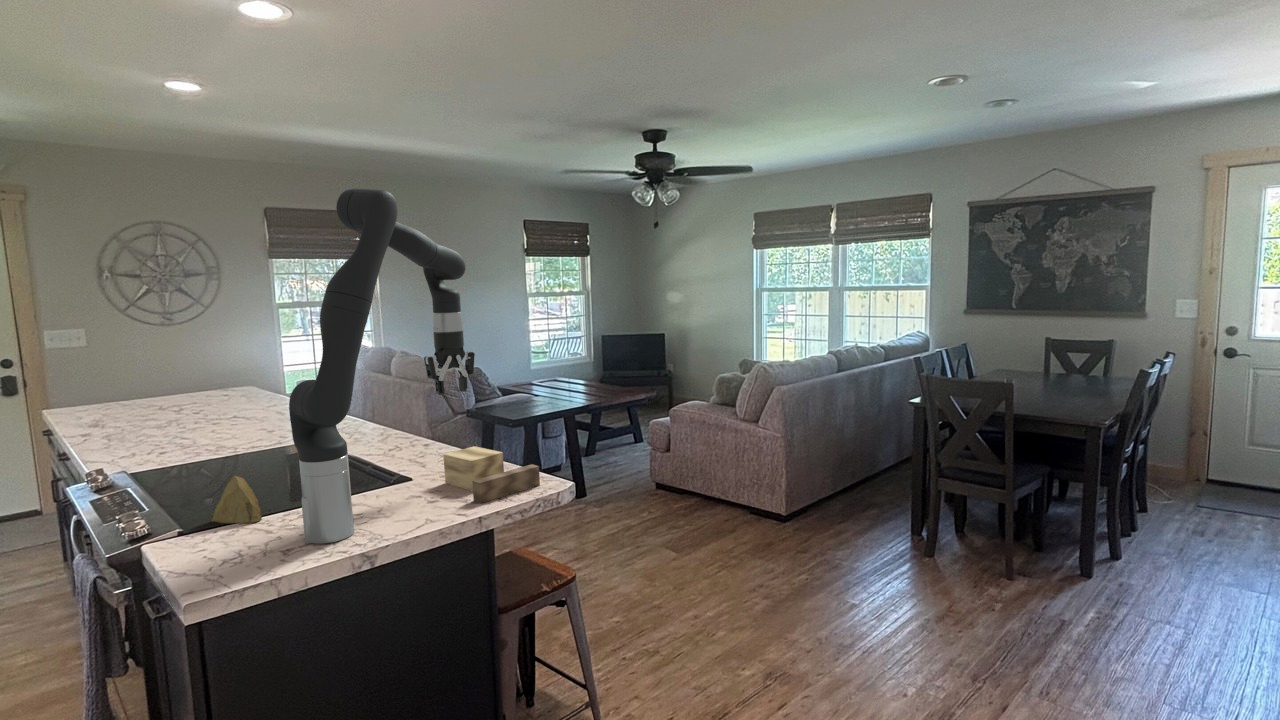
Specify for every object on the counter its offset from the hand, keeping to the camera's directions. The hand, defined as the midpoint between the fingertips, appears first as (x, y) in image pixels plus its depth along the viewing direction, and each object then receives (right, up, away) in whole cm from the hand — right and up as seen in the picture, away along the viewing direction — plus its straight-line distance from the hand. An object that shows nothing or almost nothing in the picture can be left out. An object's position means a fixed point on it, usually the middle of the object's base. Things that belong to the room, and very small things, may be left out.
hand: (452, 392), depth 178 cm
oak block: (+6, -24, 0) cm, 25 cm away
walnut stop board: (+17, -25, -10) cm, 31 cm away
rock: (-42, -28, -25) cm, 56 cm away
